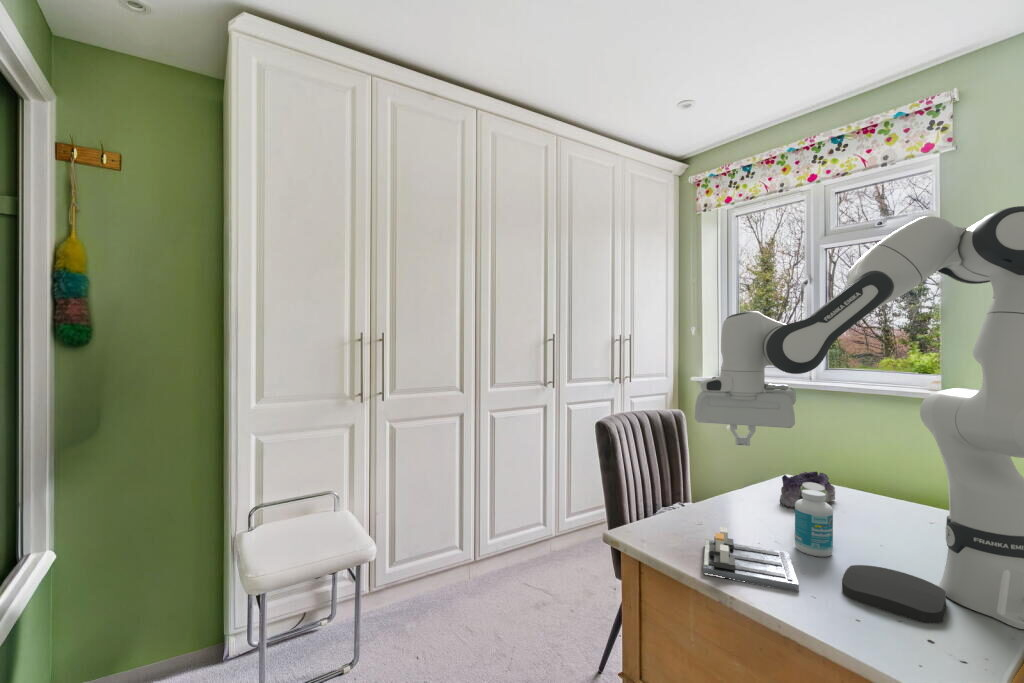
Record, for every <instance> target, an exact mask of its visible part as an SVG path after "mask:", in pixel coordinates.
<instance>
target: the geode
mask: <svg viewBox="0 0 1024 683" xmlns="http://www.w3.org/2000/svg"><path fill="white" fill-rule="evenodd" d="M781 479H782V486H781V488H780V493H781V494H780V497H779V504H780V506H782V507H784V508H787V509H789V510H795V503H796V501H798V500H799V489H800V487H801V486H802V484H803V483H804V482H814V483H818V484H821V485H823V486H824V487H825V490H826V491H827V494H828V495H827V504H829V503H831V502H833V501H834V500H836V490H835V489H836V487H835V486H834V485H832V484H831V483H830V481H829V479H830V478H829V476H828V475H827V474H826V473H824V472H819V474H818V471H810V472H809V471H808V472H806V471H802V472H800V473H798V474H796V475H792V476H790V477H788V475H786V474H784V475H782V476H781Z"/></svg>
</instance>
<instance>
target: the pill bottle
mask: <svg viewBox="0 0 1024 683" xmlns="http://www.w3.org/2000/svg"><path fill="white" fill-rule="evenodd" d="M802 497H803V499H800V500H798V501H796V503H795V509H794V546H795V548H796V549H797V550H798V551H799V552H801V553H804V554H806V555H809V556H813V557H819V558H820V557H821V558H825V557H826V558H827V557H830V556H831V555H833V552H834V550H833V549H834V544H833V543H834V539H833V538H834V511H833V507H832V505H830V504H829V503H825V502H824V501H825V500H826V494H825V493H823V492H820V491H815V490H802Z"/></svg>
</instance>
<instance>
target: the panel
mask: <svg viewBox="0 0 1024 683" xmlns="http://www.w3.org/2000/svg"><path fill="white" fill-rule="evenodd" d="M710 544H711V545H714V539H713V540H712V539H704V551H703V552H704V553H703V569H702V570H703V572H704V573H708V574H713V575H718V576H722V577H725V578H731V579H735V580H740V581H745V582H749V583H748V584H750V583H754V584H753V585H756V584H758V585H757V586H761V585H764V586H763V587H767V586H770V587H769V588H772V587H774V588H773V589H778V588H779V590H784V591H789V592H796V593H800V584H799V580H798V578H797V575H796V572H795V569H794V566H793V562H792V560H791V557H790V554H789V552H788V551H784V550H777V549H771V548H764V547H757V546H750V545H747V544H746V545H744V544H738V543H734V550H733V549H730V557H732V558H735V570H731V569H725V568H719V567H714V556H710ZM745 582H744V583H745Z"/></svg>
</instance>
